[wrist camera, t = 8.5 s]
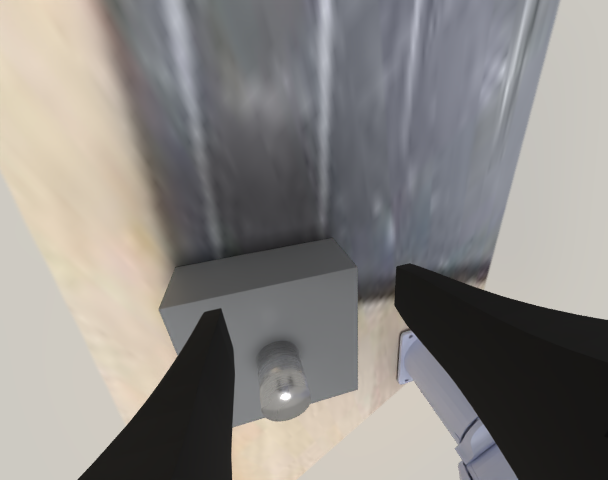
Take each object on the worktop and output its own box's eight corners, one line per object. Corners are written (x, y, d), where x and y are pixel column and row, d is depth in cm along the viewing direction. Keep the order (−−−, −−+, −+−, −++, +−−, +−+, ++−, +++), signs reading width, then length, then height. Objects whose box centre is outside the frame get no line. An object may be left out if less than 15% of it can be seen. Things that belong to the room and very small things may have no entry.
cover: (332, 237, 21) (385, 298, 14) (337, 346, 27) (377, 432, 19) (175, 267, 19) (138, 358, 12) (214, 379, 25) (205, 490, 17)
